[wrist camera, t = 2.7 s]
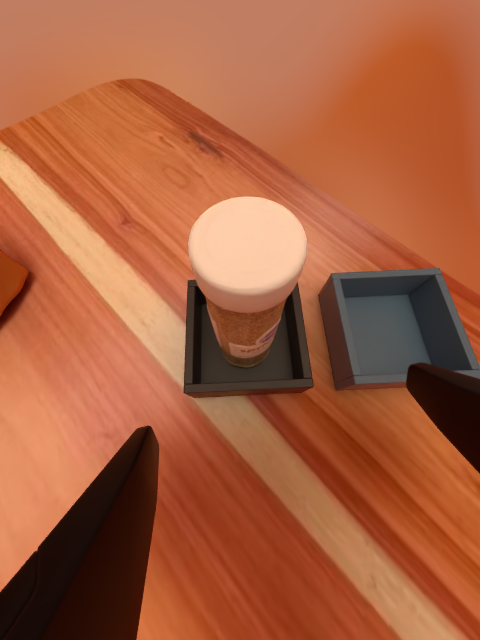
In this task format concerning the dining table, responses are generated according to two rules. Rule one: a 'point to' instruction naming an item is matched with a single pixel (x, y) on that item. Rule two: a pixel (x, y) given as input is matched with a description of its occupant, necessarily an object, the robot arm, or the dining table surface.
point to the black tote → (228, 380)
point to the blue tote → (391, 327)
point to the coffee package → (10, 280)
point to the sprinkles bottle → (246, 271)
